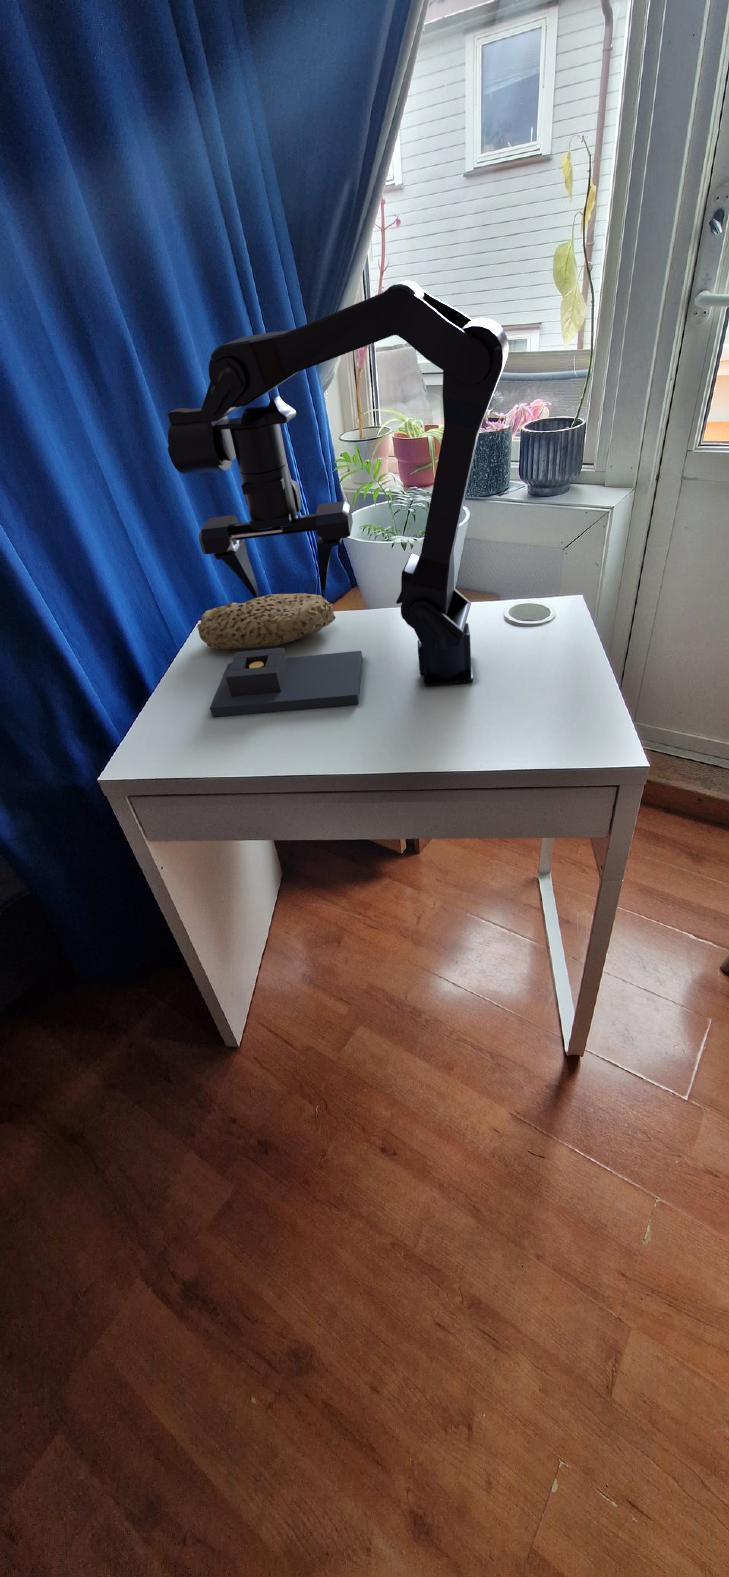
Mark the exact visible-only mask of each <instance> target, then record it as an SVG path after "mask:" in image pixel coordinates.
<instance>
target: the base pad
mask: <svg viewBox="0 0 729 1577" xmlns="http://www.w3.org/2000/svg"><path fill="white" fill-rule="evenodd" d="M286 659H287V663H288V668H287V672H286V676H285V679H284V683H283V686H282V690H281V692H274V693H262V694H251V695H240V696H231V693H230V690H229V687H228V684H227V681H226V675H227V673H228V671H229V668H230V666H231V663H232V662H231V663H227V666H226V667H225V670H224V673H223V675H222V677H221V680H220V682H219V685H218V687H217V689H216V692H215V694H214V695H213V696H214V697H213V699H212V702H211V704H210V706H209V710H210V713H211V717H212V718H218V717H227V716H239V715H251V714H262V713H263V714H264V713H271V712H272V713H273V712H275V713H276V712H286V711H287V712H288V711H297V710H307V709H308V710H309V709H319V708H330V707H342V706H343V707H344V706H354V705H359V701H360V690H361V681H362V672H363V661H364V658H363V651H362V650H354V651H343V652H333V653H323V654H312V655H311V654H310V655H303V656H302V655H301V656H291V657H286ZM259 667H264V664H263V662H259V661H258V662H253V663H251V664H250V665H249V668H259Z"/></svg>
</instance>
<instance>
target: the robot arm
mask: <svg viewBox="0 0 729 1577" xmlns="http://www.w3.org/2000/svg"><path fill="white" fill-rule="evenodd" d="M393 336H397V337H399V338H400V339H402V340H403V341H405V342H406V343H407V344H408V345H410V347H412V348H413V349H414V350H415V351H417V352H418V353H419V354H420V355H421V356H422V357H423V358H424V359H426V360H427V362H429V363H431V364H433V365H434V366H436V368H439V369H440V370H441V371H442V412H443V431H442V437H441V441H440V442H441V443H440V448H439V452H438V459H437V463H436V468H435V469H436V470H435V473H434V474H435V475H434V481H433V486H432V489H431V490H432V491H431V495H430V501H429V507H428V513H427V518H426V524H425V527H424V528H425V529H424V534H423V541H422V544H421V545H422V546H421V551H420V555H416V554H414V553H410V555H409V557H408V559H407V561H406V562H405V565H404V567H403V568H402V571H401V575H400V576H401V577H400V578H401V579H400V584H401V585H400V586H401V588H400V589H401V590H400V593H399V595H398V597H397V599H396V601H395V604H397V605H399V604H401V605H400V615H401V618H402V619H403V620H404V622H405V623H406V624H407V625H408V626H409V627H410V628H412V629H413V631H414V633H415V634H416V636H417V639H418V640H417V658H418V669H419V675H420V676H422V677H423V685H424V686H425V687H429V686H430V687H431V686H443V685H444V686H445V685H454V684H464V683H472V682H474V674H473V667H472V652H471V651H472V650H471V646H472V645H471V631H470V630H471V629H470V625H469V623H468V622H467V620H468V616H469V612H470V609H471V607H472V606H471V605H472V603H471V601H470V600H469V599H468V598H466V597H465V596H464V595H463V594H462V593H461V592H459V590H457V589H456V588H455V570H456V569H455V544H456V542H457V541H456V540H457V536H458V533H459V532H458V531H459V526H460V523H461V522H460V521H461V519H462V513H463V509H464V504H465V499H466V494H467V491H468V486H469V482H470V481H469V480H470V477H471V471H472V467H473V463H474V459H475V454H476V448H477V444H478V440H479V435H480V431H481V427H482V424H483V422H484V420H485V417H486V414H487V411H488V409H489V407H490V404H491V402H492V399H493V397H494V395H495V391H496V389H497V386H498V383H499V381H500V378H501V377H502V373H503V371H504V368H505V365H506V363H507V360H508V357H509V339H508V336H507V335H506V332H505V330H504V329H503V327H502V326H501V325H500V324H499V323H498V322H496V320H493V319H491V318H488V317H478V318H475V319H472V318H471V317H469V316H468V315H467V314H465V313H463V312H462V311H460V310H459V309H458V308H455V307H454V306H452V305H449V304H448V303H446V302H444V301H442V300H440V299H438V298H436V297H435V296H433V295H431V294H429V293H428V292H427V291H426V290H424V289H422V287H421V286H420V285H418V284H417V282H415V281H411V280H404V281H403V280H402V281H400V282H397V283H394V284H392V285H391V286H389V287H388V288H387V289H385V291H383V292H380V293H378V294H376V295H373V296H371V297H369V298H366V299H364V300H361V301H359V302H357V303H354V304H352V305H349V306H346V307H345V308H343V309H342V308H341V309H340V310H337V311H334V312H333V313H330V314H328V315H325V316H323V317H320V318H318V319H316V320H313V321H310V322H308V323H305V324H303V325H301V326H297V327H296V328H293V329H289V330H288V329H287V330H279V331H271V332H270V331H269V332H264V333H258V334H253V335H252V334H251V335H246V336H243V337H240V338H237V339H235V340H232V341H229V342H226V343H224V344H221V345H218V346H217V347H216V348H215V349H214V350H213V351H212V352H211V354H210V359H209V362H208V377H209V383H208V384H209V385H208V387H207V390H206V394H205V397H204V399H203V400H204V401H203V403H202V406H201V407H197V408H189V407H188V408H187V407H180V408H175V409H173V410H170V411H169V412H168V413H167V417H168V420H169V427H168V431H167V443H168V444H167V445H168V446H167V453H168V456H169V458H170V462H171V463H172V465H173V467H174V468H175V469H176V471H177V472H179V473H180V474H183V475H188V474H198V473H199V474H200V473H212V472H225V471H229V469H230V468H231V466H232V464H233V461H234V460H236V462H237V466H238V470H239V474H240V480H241V491H242V495H244V500H245V504H246V506H247V508H248V512H249V517H250V521H245V522H239V519H238V517H237V516H236V514H231V515H222V516H215V517H209V518H208V519H207V521H205V522H206V523H204V525H203V527H202V528H201V530H200V531H199V533H198V542H199V546H200V549H201V551H202V552H201V553H202V554H203V555H213V554H214V555H213V557H214V560H217V561H219V560H221V561H223V562H224V563H225V564H226V566H228V567H229V568H230V569H231V570H232V571H233V573H234V574H235V575H236V576H237V577H238V578H239V579H240V580H241V582H242V584H243V585H244V586H245V587H246V589H247V590H248V591H249V593H250V594H251V595H252V596H253V598H258V597H260V596H259V595H260V593H259V587H258V583H257V580H256V577H255V574H254V570H253V567H252V565H251V562H250V559H249V556H248V551H247V545H246V540H247V539H249V540H250V539H256V538H265V537H273V536H281V535H291V534H296V533H297V534H299V533H307V532H316V535H317V536H318V537H317V538H318V539H317V542H316V552H317V553H316V554H317V562H318V573H319V574H318V575H319V582H320V583H319V584H320V586H321V590H322V591H326V588H327V584H328V575H329V568H330V560H331V555H332V551H333V548H334V547H336V546H337V547H338V546H340V545H341V544H342V541H343V539H346V538H349V537H351V534H352V529H353V525H354V524H353V523H354V521H353V514H352V513H353V512H352V508H351V505H350V504H349V503H348V502H347V501H346V500H343V501H335V502H327V503H319V504H318V506H317V509H316V512H315V513H310V514H303V515H302V514H301V515H298V513H300V512H301V510H302V500H301V493H300V485H299V482H297V481H295V480H293V479H292V477H291V476H292V475H291V472H290V469H289V464H288V459H287V455H286V449H285V444H284V440H283V433H282V429H281V425H283V424H287V423H288V422H289V421H291V420H292V419H293V418H295V417H297V411H296V410H295V409H294V408H293V407H292V406H290V405H289V404H287V403H285V402H284V401H283V399H282V398H281V397H280V396H279V395H276V396H274V397H273V398H271V399H270V400H269V402H268V404H267V405H261V406H250V407H247V408H245V409H244V410H243V413H242V415H241V416H240V417H233V418H228V416H229V415H230V414H232V413H234V412H235V411H237V410H239V409H240V408H242V407H245V406H247V405H249V404H251V403H253V402H254V401H256V400H257V399H259V398H261V397H263V396H264V395H266V394H268V393H269V392H271V391H273V390H274V389H275V388H277V387H278V386H280V385H281V384H283V383H284V382H286V381H288V380H290V378H292V377H293V376H295V375H296V374H298V373H299V372H301V371H305V370H308V369H310V368H312V367H315V366H318V365H320V364H322V363H326V362H328V361H330V360H333V359H335V358H338V357H341V356H343V355H346V354H349V353H351V352H354V351H356V350H359V349H362V348H365V347H367V346H369V345H372V344H375V343H378V342H380V341H383V340H385V339H387V338H390V337H393Z"/></svg>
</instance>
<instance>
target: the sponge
mask: <svg viewBox="0 0 729 1577" xmlns="http://www.w3.org/2000/svg"><path fill="white" fill-rule="evenodd" d="M335 619H336V615H335V612H334V604H333V603H331V602H329V601H328V600H327V599H325V596H322V595H320V594H317V593H313V594H310V593H305V592H304V593H276V594H265V595H263V596H258V598H255V597H253V598H251V599H249V600H247V601H245V602H239V603H237V602H228V603H226V604H225V605H222V606H217V607H214V608H212V609H208V610H205V612H204V613H203V614H202V615H201V619H200V622H199V623H197V626H196V628H197V630H198V634H199V638H200V640H201V641H202V642H204V643H205V645H206V646H207V647H209V648H214V649H220V650H222V649H230V650H232V649H233V650H234V649H240V648H243V649H249V648H264V647H265V648H266V647H274V646H280V644H281V645H282V644H288V643H291V642H294V641H297V640H299V639H302V638H304V637H306V636H309V635H312V634H315V633H317V632H319V631H321V630H322V629H323V628H325V627H327V626H329V625H330V624H331V623H333V622H334V621H335Z"/></svg>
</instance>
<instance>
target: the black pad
mask: <svg viewBox="0 0 729 1577" xmlns="http://www.w3.org/2000/svg"><path fill="white" fill-rule="evenodd" d="M286 658H287V654H286V651H285V647H276V648H275V647H274V648H265V649H256V650H246V651H244V650H243V651H236V652H235V654H234V656H233V658H232V661H231V666H230V668H229V671H228V673H227V675H226V681H227V684H228V687H229V690H230V693H231V696H240V695H251V694H262V693H274V692H281V690H282V686H283V683H284V679H285V676H286V672H287V668H288V663H287V659H286ZM258 661H259V662H263V664H264V667H259V668H249V665H250V664H251V663H253V662H258Z"/></svg>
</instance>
